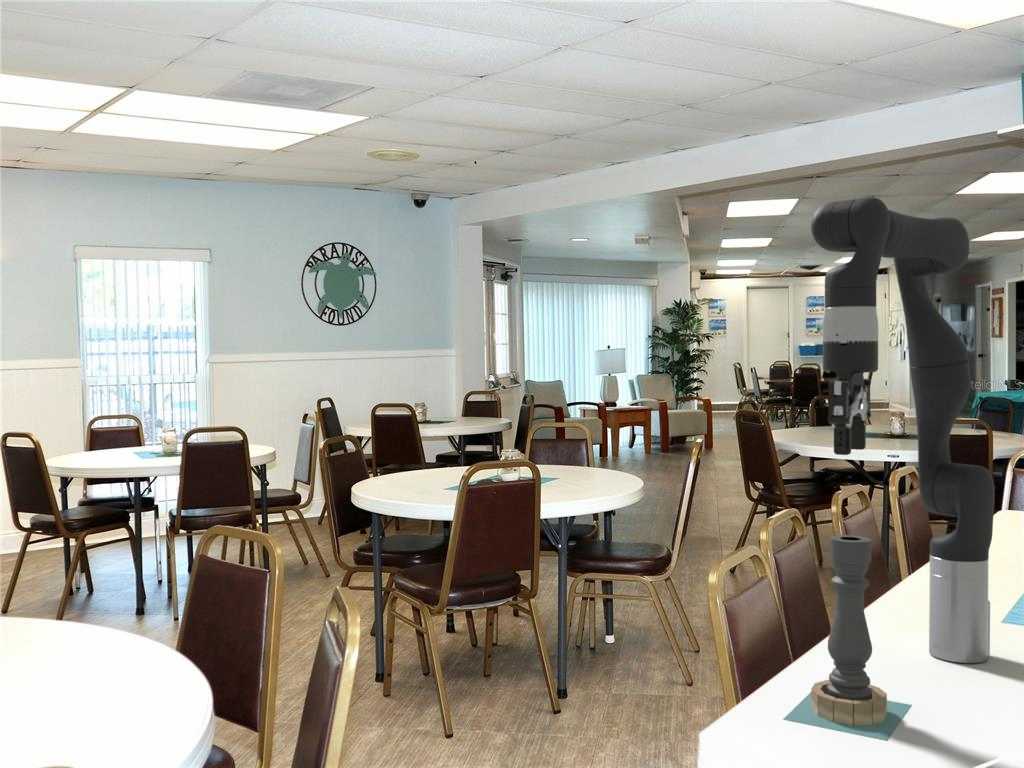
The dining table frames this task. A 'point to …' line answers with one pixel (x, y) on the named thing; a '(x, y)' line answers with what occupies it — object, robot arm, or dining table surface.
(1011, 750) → the dining table surface
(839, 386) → the robot arm
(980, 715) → the dining table surface
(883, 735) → the runner mat
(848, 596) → the candle holder
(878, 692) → the segmented wooden ring
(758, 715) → the dining table surface
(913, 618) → the dining table surface
